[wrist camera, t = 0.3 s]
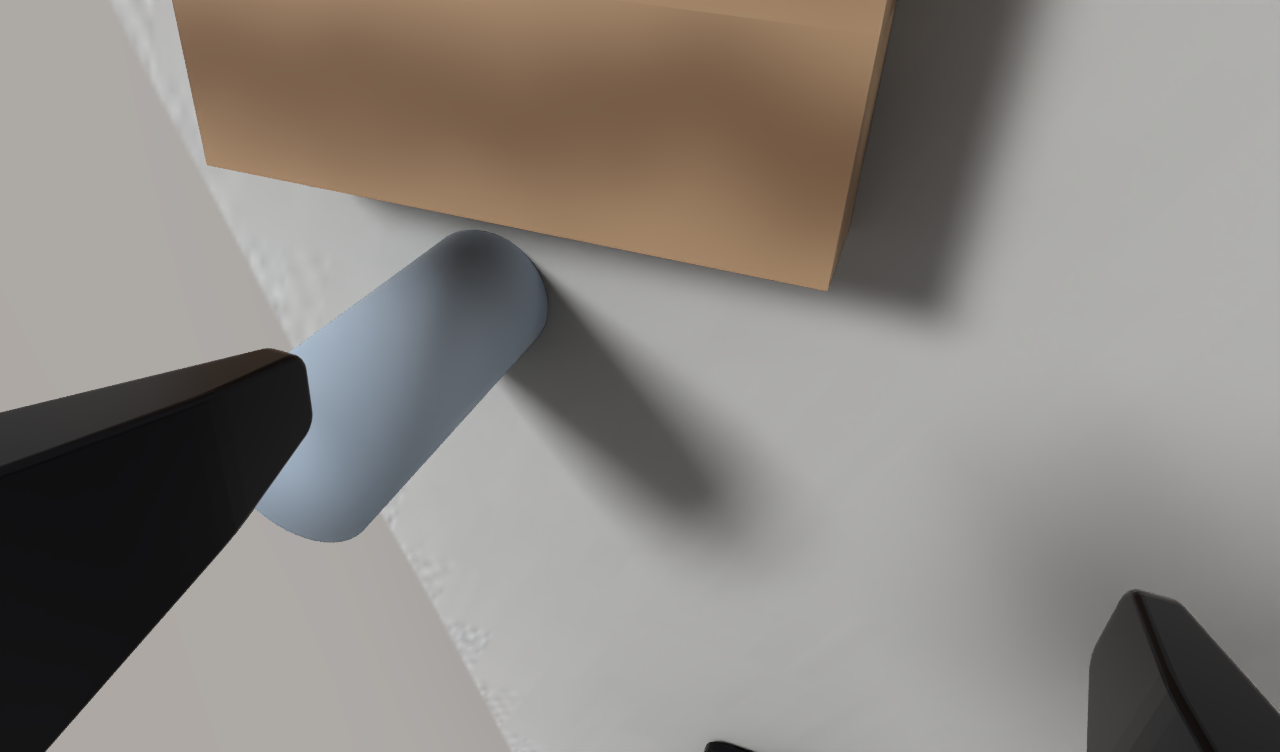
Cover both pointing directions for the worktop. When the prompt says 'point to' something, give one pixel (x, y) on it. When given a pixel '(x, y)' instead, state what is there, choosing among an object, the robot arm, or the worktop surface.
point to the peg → (403, 379)
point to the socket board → (561, 114)
